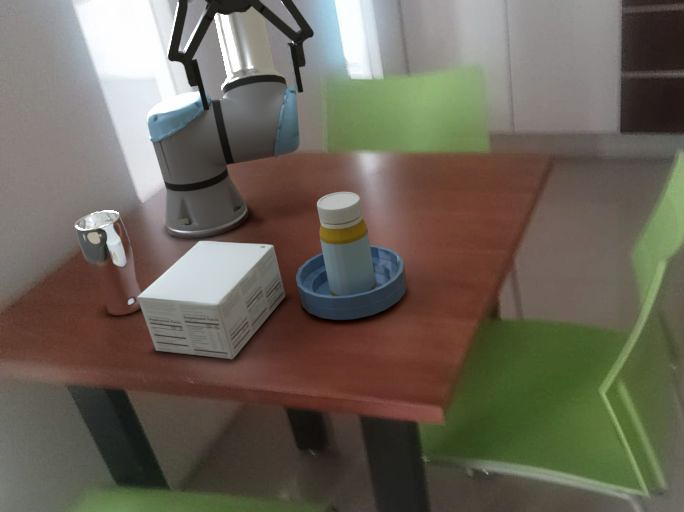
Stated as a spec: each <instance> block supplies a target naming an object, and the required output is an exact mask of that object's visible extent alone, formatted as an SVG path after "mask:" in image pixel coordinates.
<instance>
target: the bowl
mask: <svg viewBox="0 0 684 512" xmlns="http://www.w3.org/2000/svg"><path fill="white" fill-rule="evenodd" d="M370 249H371V256H372V262H373V269H374V275H375V283H376V287H375V289H373V290H370V291H368V292H364V293H359V294H354V295H346V296H333V295H332V294H331V292H330V288H329V283H328V278H327V272H326V267H325V262H324V256H323V252H320V253H318V254H316V255H314V256H313V257H311V258H309V259H308V260H307V261H305V262H304V263H303V264H302V265H301V266H300V267H299V268H298V270H297V273H296V275H295V281H296V282H295V283H296V286H297V291H298V297H299V299H300V304H301V307H302V308H303V309H304V310H305V311H306V312H307V313H309V314H311V315H313V316H316V317H318V318H321V319H327V320H332V321H333V320H334V321H344V320H356V319H361V318H367V317H369V316H370V317H371V316H374V315H376V314H378V313H381V312H383V311H386V310H388V309H389V308H391V307H392V306H394V305H395V304H397V303H398V302H399V301H400V300H401V299H402V297H404V295H405V293H406V290H407V285H408V284H407V275H406V268H405V262H404V260H403V257H402V256H401V254H399V253H398V252H396V251H395V250H393V249H391V248H388V247H385V246H381V245H376V244H375V245H374V244H370Z"/></svg>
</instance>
